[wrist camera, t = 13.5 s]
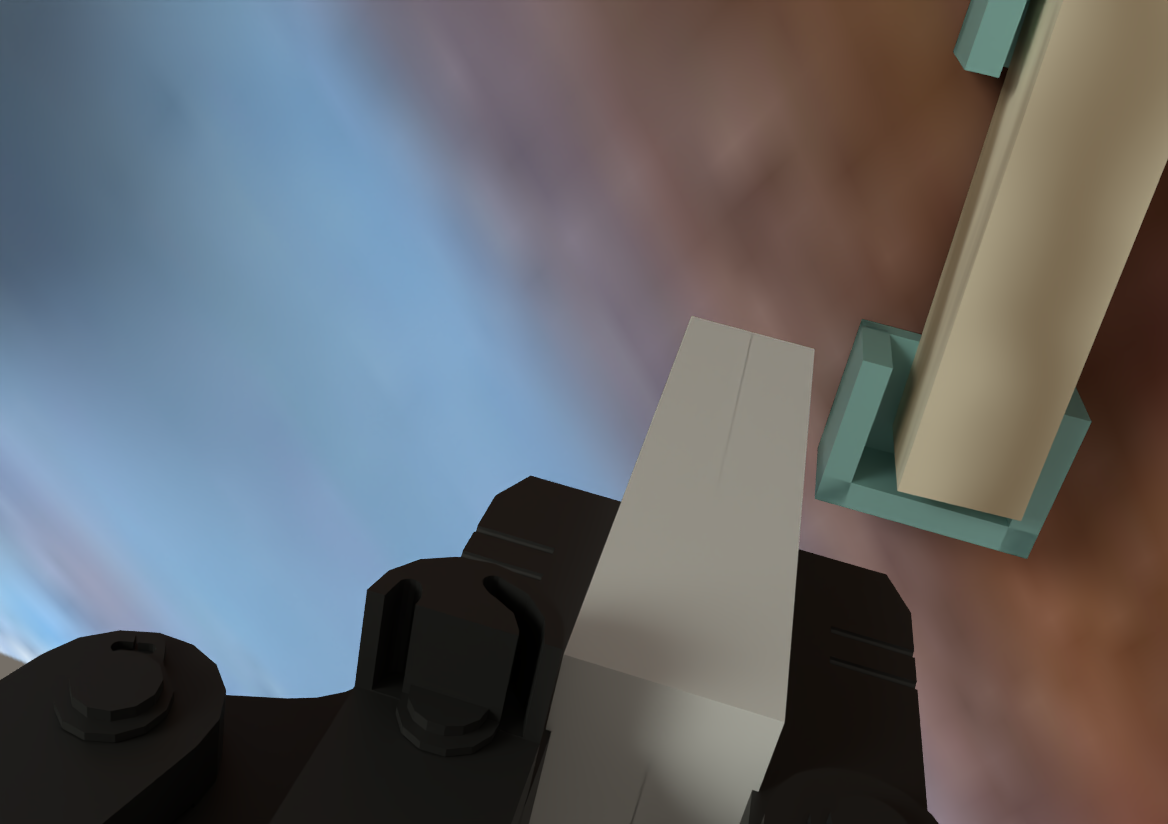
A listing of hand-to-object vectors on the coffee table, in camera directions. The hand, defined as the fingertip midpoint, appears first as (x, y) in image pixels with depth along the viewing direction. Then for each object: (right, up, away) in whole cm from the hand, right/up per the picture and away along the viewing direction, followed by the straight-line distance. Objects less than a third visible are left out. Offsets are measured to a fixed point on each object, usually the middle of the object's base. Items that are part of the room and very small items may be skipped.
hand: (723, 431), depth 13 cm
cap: (+11, 0, +27) cm, 29 cm away
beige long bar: (+13, +6, +23) cm, 27 cm away
